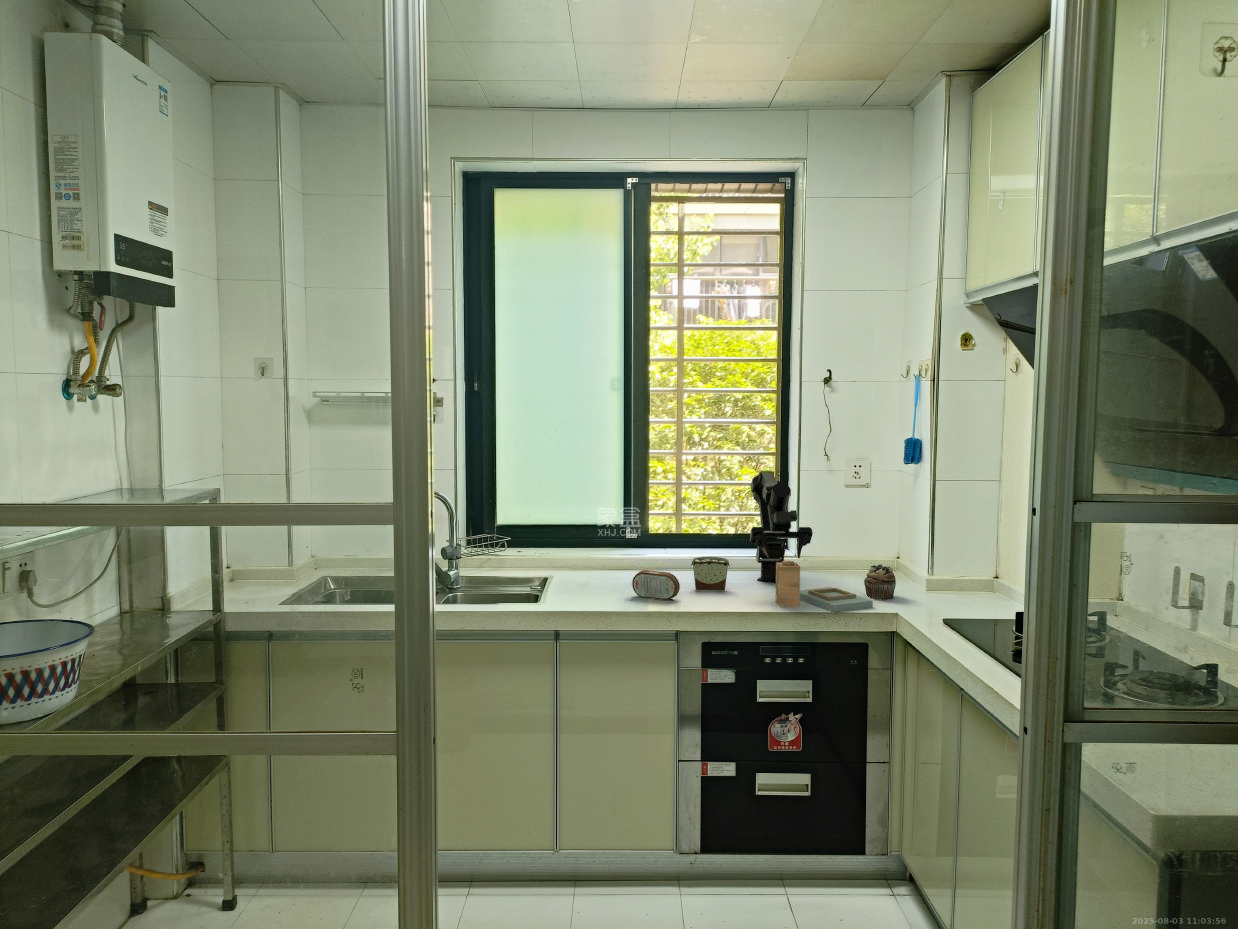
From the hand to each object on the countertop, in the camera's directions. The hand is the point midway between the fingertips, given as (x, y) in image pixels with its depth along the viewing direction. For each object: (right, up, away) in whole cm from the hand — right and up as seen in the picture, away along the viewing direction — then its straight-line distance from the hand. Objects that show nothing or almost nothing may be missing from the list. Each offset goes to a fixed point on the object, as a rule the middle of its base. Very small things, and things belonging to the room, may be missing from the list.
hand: (783, 557), depth 253 cm
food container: (-21, -12, +15) cm, 28 cm away
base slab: (+14, -13, -3) cm, 19 cm away
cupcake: (+30, -13, +4) cm, 33 cm away
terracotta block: (0, -13, -6) cm, 15 cm away
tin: (-39, -13, +2) cm, 41 cm away
